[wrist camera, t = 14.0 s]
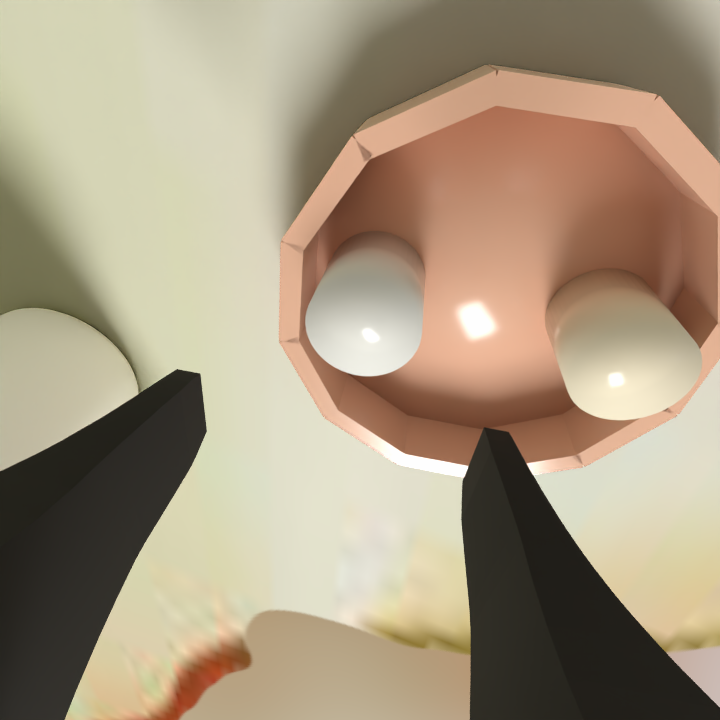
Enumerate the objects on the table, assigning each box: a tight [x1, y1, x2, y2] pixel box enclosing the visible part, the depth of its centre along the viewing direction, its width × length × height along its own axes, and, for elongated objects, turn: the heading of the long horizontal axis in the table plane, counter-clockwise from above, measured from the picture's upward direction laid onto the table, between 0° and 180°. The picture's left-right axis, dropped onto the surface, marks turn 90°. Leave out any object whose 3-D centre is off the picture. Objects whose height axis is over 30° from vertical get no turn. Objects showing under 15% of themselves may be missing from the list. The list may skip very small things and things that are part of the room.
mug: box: [0, 308, 138, 471], centre depth 22 cm, size 12×8×10 cm
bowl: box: [279, 64, 720, 478], centre depth 18 cm, size 16×16×3 cm
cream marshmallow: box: [545, 268, 702, 420], centre depth 17 cm, size 4×4×4 cm
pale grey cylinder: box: [305, 231, 425, 376], centre depth 17 cm, size 4×4×4 cm
